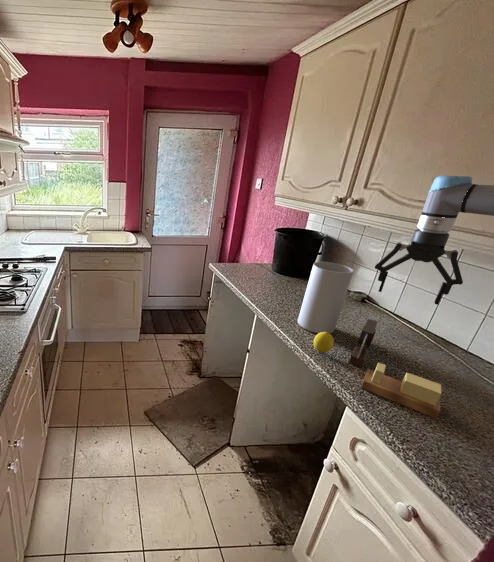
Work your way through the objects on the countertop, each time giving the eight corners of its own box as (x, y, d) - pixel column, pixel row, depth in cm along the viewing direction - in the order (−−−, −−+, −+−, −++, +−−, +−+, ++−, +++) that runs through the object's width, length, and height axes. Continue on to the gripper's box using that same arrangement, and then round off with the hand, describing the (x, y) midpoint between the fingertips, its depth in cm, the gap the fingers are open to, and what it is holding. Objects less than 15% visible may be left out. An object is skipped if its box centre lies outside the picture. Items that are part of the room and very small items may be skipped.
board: (436, 402, 85) (440, 395, 84) (436, 418, 80) (440, 411, 79) (364, 375, 95) (367, 368, 94) (360, 387, 90) (363, 380, 89)
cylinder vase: (294, 316, 130) (310, 260, 121) (329, 322, 126) (347, 264, 117) (299, 331, 119) (317, 269, 110) (337, 337, 115) (358, 275, 106)
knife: (372, 336, 111) (377, 321, 109) (363, 360, 98) (369, 343, 95) (362, 333, 113) (368, 318, 111) (352, 356, 99) (358, 340, 97)
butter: (435, 396, 84) (441, 384, 82) (435, 406, 80) (441, 393, 79) (401, 383, 88) (406, 372, 87) (400, 392, 85) (405, 380, 83)
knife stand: (370, 343, 112) (376, 329, 110) (362, 368, 98) (368, 352, 96) (358, 340, 115) (363, 325, 112) (348, 363, 101) (354, 347, 99)
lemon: (308, 352, 106) (315, 331, 103) (313, 346, 110) (319, 326, 107) (327, 359, 103) (334, 338, 100) (331, 352, 106) (338, 332, 103)
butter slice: (381, 376, 91) (385, 365, 90) (379, 384, 88) (384, 372, 86) (373, 373, 92) (378, 362, 91) (371, 381, 89) (376, 369, 87)
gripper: (378, 226, 97) (357, 289, 104) (498, 240, 81) (463, 313, 89) (380, 223, 102) (360, 283, 110) (493, 236, 86) (461, 305, 94)
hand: (406, 296), depth 99 cm, fingers open, 13 cm apart
